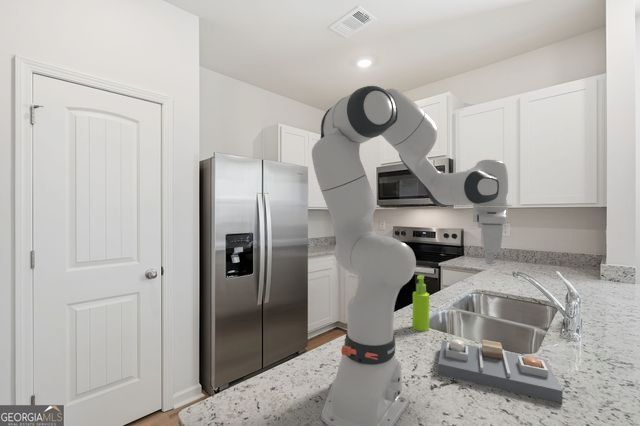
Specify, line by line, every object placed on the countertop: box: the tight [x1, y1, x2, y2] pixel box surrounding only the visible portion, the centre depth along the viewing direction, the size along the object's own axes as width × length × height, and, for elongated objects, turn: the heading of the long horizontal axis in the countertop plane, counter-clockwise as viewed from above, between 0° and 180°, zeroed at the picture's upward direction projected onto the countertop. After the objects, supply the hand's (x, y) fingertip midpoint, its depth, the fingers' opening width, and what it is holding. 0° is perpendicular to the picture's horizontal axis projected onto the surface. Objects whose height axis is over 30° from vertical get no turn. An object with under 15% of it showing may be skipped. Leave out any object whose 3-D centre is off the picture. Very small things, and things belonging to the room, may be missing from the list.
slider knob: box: [481, 339, 503, 359], centre depth 86 cm, size 4×5×3 cm
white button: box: [450, 338, 465, 352], centre depth 87 cm, size 4×4×2 cm
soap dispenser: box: [411, 274, 430, 332], centre depth 112 cm, size 6×7×20 cm
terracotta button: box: [524, 356, 541, 368], centre depth 79 cm, size 4×4×2 cm
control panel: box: [437, 339, 563, 404], centre depth 83 cm, size 16×27×5 cm, turn 64°
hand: (489, 263), depth 88 cm, fingers closed
